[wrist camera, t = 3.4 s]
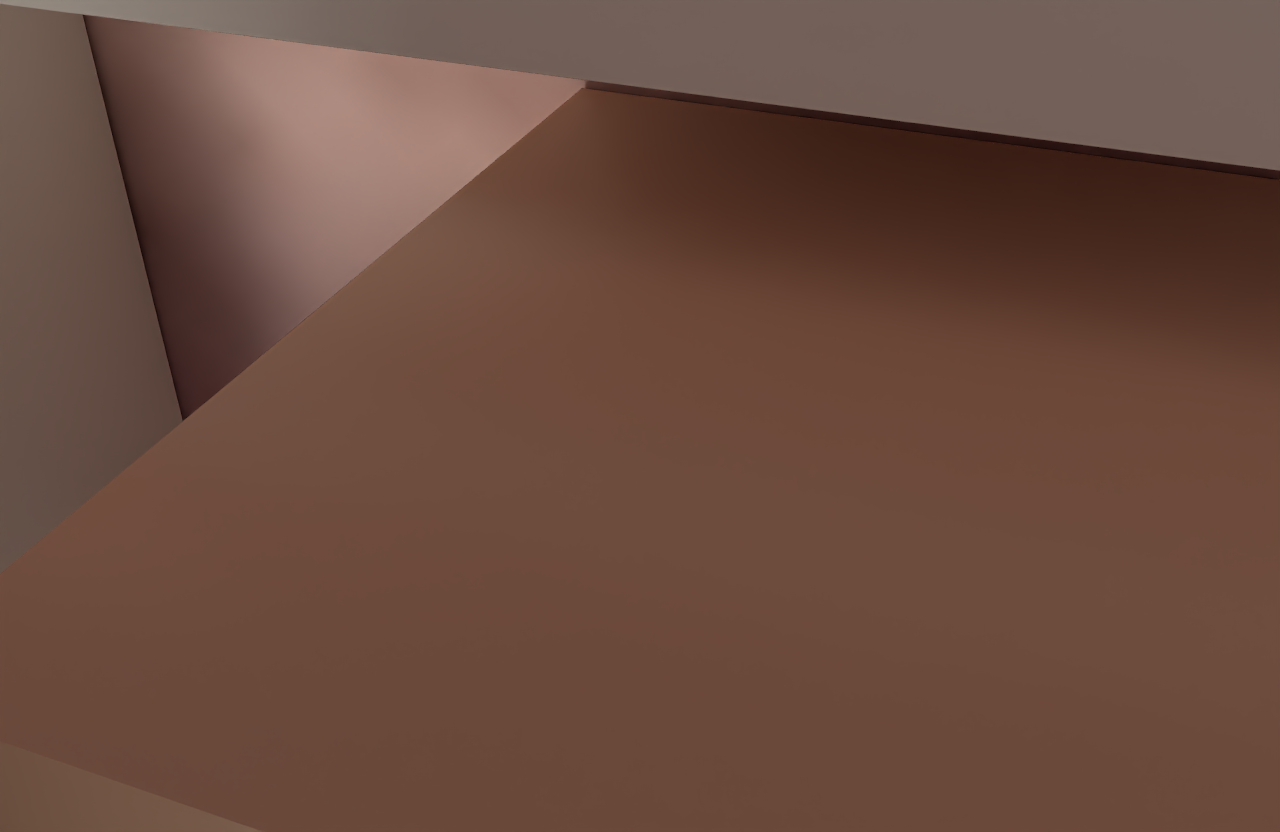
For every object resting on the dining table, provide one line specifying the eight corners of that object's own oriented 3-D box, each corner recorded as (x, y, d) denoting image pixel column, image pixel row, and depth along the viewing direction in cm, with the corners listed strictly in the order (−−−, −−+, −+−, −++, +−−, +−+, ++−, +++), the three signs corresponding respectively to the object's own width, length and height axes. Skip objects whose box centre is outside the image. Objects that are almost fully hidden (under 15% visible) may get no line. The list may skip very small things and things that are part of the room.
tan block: (1284, 181, 7) (1466, 1242, 3) (1115, 707, 10) (1053, 1728, 5) (582, 88, 9) (-143, 691, 4) (593, 575, 11) (162, 1295, 6)
